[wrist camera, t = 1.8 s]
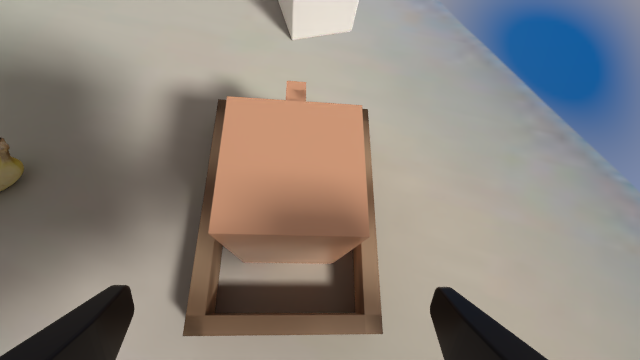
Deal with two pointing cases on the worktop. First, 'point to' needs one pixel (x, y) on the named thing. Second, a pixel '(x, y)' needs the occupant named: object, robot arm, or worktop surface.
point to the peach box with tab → (290, 180)
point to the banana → (8, 167)
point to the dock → (230, 324)
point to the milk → (318, 17)
